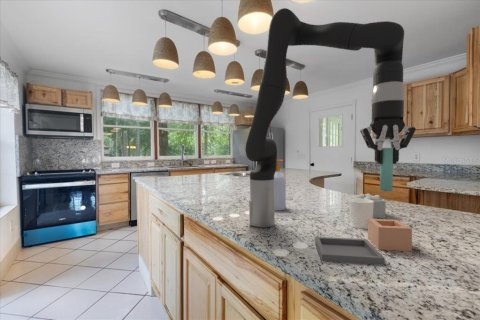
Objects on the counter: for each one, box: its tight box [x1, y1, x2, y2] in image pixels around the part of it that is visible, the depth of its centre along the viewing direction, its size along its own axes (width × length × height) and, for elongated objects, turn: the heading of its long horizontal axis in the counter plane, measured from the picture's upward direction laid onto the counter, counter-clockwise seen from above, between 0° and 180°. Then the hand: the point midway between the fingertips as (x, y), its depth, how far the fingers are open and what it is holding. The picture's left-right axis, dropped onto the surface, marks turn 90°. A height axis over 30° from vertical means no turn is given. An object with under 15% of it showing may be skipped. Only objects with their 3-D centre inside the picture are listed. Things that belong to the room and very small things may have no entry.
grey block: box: [354, 193, 386, 219], centre depth 101 cm, size 10×13×9 cm
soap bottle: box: [274, 159, 287, 212], centre depth 113 cm, size 9×9×24 cm
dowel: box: [379, 147, 394, 193], centre depth 66 cm, size 3×3×12 cm
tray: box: [314, 236, 386, 266], centre depth 62 cm, size 14×12×2 cm
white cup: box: [348, 197, 374, 230], centre depth 83 cm, size 8×8×10 cm
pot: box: [367, 218, 413, 252], centre depth 66 cm, size 8×8×7 cm
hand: (386, 163), depth 65 cm, fingers closed on dowel, 3 cm apart
